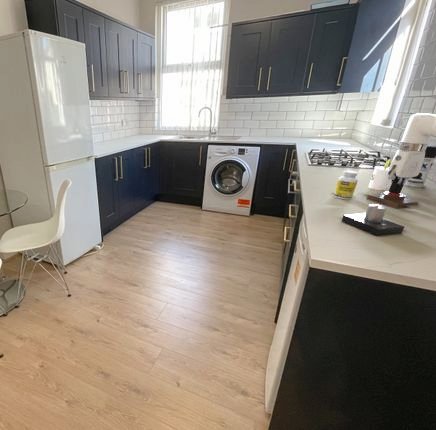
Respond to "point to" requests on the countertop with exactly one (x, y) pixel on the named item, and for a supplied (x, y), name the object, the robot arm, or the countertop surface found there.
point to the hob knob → (375, 213)
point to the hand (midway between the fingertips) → (394, 192)
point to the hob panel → (372, 225)
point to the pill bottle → (346, 185)
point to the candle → (380, 177)
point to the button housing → (392, 200)
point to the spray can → (423, 168)
